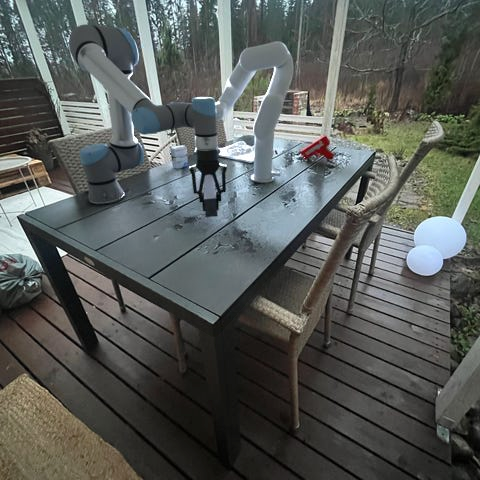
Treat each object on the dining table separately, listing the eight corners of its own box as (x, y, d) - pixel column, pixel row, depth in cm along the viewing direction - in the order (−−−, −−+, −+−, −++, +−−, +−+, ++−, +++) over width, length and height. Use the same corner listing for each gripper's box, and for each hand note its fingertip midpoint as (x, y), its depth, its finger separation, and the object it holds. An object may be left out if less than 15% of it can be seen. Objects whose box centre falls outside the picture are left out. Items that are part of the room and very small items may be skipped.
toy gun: (337, 154, 172) (326, 134, 168) (337, 156, 169) (325, 135, 165) (312, 169, 182) (300, 150, 178) (311, 171, 179) (299, 152, 175)
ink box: (184, 164, 169) (181, 144, 163) (188, 165, 166) (186, 146, 160) (172, 167, 164) (169, 147, 158) (176, 169, 161) (174, 148, 155)
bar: (204, 167, 153) (203, 153, 149) (212, 166, 153) (211, 153, 149) (205, 217, 101) (203, 199, 97) (217, 216, 102) (216, 198, 98)
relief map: (251, 162, 170) (251, 154, 168) (209, 154, 188) (209, 146, 185) (273, 153, 189) (273, 145, 186) (233, 146, 206) (233, 139, 204)
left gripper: (180, 151, 89) (187, 214, 102) (233, 150, 91) (234, 212, 104) (181, 146, 95) (188, 206, 108) (231, 144, 97) (232, 203, 110)
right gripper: (188, 133, 134) (192, 169, 143) (222, 131, 135) (224, 167, 145) (188, 130, 140) (193, 165, 150) (221, 128, 141) (223, 163, 151)
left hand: (210, 209), depth 106 cm, fingers closed on bar, 5 cm apart
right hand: (208, 165), depth 147 cm, fingers closed on bar, 4 cm apart
